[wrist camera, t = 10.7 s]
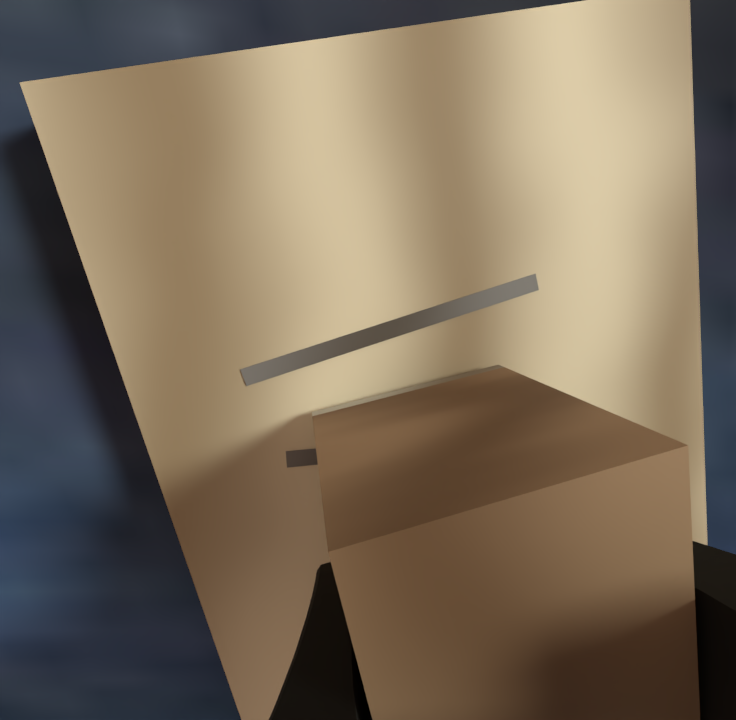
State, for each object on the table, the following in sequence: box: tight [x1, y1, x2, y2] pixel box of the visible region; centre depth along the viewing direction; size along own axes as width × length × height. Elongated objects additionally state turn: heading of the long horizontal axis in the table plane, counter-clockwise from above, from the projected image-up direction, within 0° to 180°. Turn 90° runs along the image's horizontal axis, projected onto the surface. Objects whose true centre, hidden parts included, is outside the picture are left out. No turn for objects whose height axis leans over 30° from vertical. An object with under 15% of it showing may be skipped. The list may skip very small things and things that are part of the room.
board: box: [20, 0, 707, 720], centre depth 12 cm, size 14×24×2 cm, turn 12°
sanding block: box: [312, 365, 700, 720], centre depth 8 cm, size 4×8×5 cm, turn 12°
